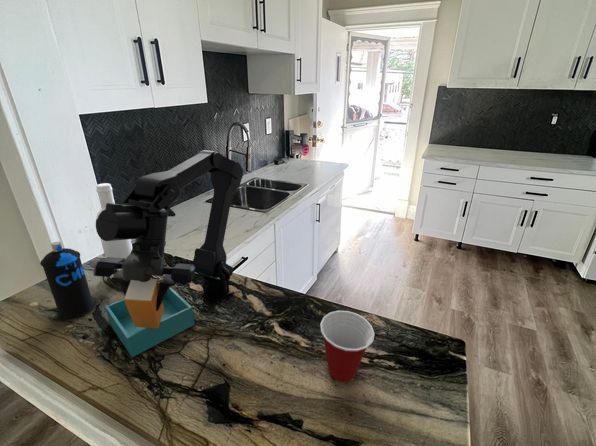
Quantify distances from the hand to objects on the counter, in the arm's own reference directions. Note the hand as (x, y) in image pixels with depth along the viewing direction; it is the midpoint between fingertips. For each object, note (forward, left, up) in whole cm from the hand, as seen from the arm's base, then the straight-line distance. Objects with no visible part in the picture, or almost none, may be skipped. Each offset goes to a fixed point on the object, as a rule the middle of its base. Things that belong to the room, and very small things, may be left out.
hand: (143, 309), depth 67 cm
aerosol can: (+8, -29, -12) cm, 33 cm away
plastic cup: (-27, +34, -12) cm, 45 cm away
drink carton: (-2, -3, -5) cm, 7 cm away
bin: (-4, -9, -12) cm, 15 cm away
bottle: (-7, -38, -12) cm, 41 cm away
